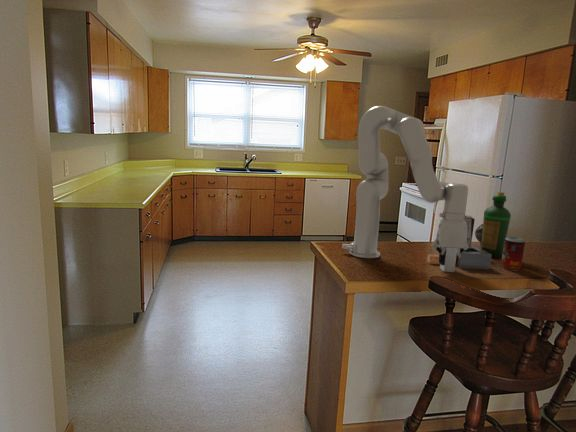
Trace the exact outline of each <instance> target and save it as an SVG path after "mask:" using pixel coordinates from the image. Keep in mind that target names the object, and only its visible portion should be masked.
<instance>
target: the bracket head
mask: <svg viewBox="0 0 576 432" xmlns="http://www.w3.org/2000/svg"><path fill="white" fill-rule="evenodd" d="M492 258H493V257H492V254H490V253H488V252H486V251H484V250H482V249H481V247H480V246H472V245H471V246H469V248H468V249H466V250H464V251H463V252H462V253H461V254H460V255H459V256H458V263H457V265H456V266H455V267H457V268H458V269H466V270H467V269H469V270H471V269H472V270H490V268H491V262H492ZM426 263H428V264H430V265H440V263H439V254H431V253H430V254H427V255H426Z"/></svg>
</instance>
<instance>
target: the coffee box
mask: <svg viewBox="0 0 576 432" xmlns="http://www.w3.org/2000/svg"><path fill="white" fill-rule="evenodd" d="M464 221H465V222H466V223H467V244H468V246H472V240H473V233H474V228H475V222H476V221H475V218H474V217H472V216H471V215H465V219H464Z"/></svg>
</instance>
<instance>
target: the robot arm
mask: <svg viewBox="0 0 576 432" xmlns="http://www.w3.org/2000/svg"><path fill="white" fill-rule="evenodd" d="M380 130H386V131H389V132H391V133H393V134H396V135H398V136H399V138H400V141H401V143H402V145H403V148H404V151H405V153H406V155H407V158H408V160H409V163H410V165H409V166H410V168H411V172H412V176H413V179H414V181H415V182H414V183H416V184H415V185H416V187H417V189H418V191H419V195H420V196H421V197H422V199H423V200H424V201H426V202H428V203H431V204H432V203H437V202H439V201H444V204H443V211H442V212H441V213H439V217H440V218H442V219H440V221H439V224H438V227H437V231H436V236H435V239H434V241H432V243H431V245H430V246H431V247H432V248H434V249H435V250H436V251H437V252H438V255H439V263H440V264H441V265H444V262H445V255H444V253H445V250H446V248H457V256H456V263H455V267H457V266H456V265H457V263H458V256H459V255H460V254H461V253H462V252H463V251H464V250H466V249H468V248H469V246H468V244H467V223H466V222H465V221H464V219H465V216H466V210H467V203H468V196H469V187H468V184H467V185H466V184H464V183H456V182H453V183H452V182H451V183H449V182H444V181H439V180H438V178H437V175H436V172H435V171H434V167H433V152H432V150H431V147H430V145H429V142H428V140H427V138H426V135H425V125H424V123H423V121H422V120H421V119H419V118H416V117H413V116H411V115H408V114H406V113H403V112H400V111H398V110H396V109H393V108H392V107H391V108H390V107H387V106H385V105H378V106H377V105H376V106H373V107H371V108H369V109H368V110H367V111H366V112H364V114H363V115H362V116H361V119H360V120H359V122H358V131H357V132H358V169H359V171H360V172H361V173H362V174H363V175H366V177H365V178H366V179H364V180H362V181H360V183H359V184H358V185H357V187H356V192H355V193H356V194H355V196H356V197H355V198H356V209H355V210H356V212H355V225H354V235H353V236H354V239H353V241H352V242H351V243H349V244H348V243H341V244H342V245H341V246H342V247H341V248H342V249H345V250H349V254H350V255H352V256H353V257H356V258H361V259H376V258H379V257H380V256H381V252H380V251H378V238H379V229H380V227H379V226H380V219H381V218H380V216H381V200H383V199H384V198H385V197H386V196H387V194H388V192H389V186H390V185H389V183H390V182H389V181H390V180H389V162H388V158H387V157H386V155H385V154H384V153H383V152H381V136H380ZM438 245H439V246H438ZM440 264H439V265H440Z"/></svg>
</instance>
